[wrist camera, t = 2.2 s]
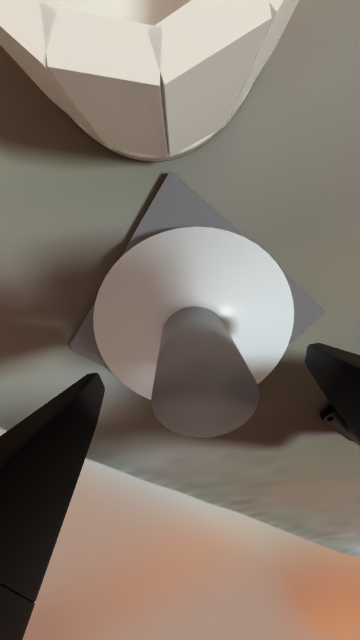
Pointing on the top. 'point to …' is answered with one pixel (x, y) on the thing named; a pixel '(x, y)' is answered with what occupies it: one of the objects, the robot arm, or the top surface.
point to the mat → (179, 212)
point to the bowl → (145, 64)
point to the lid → (195, 326)
